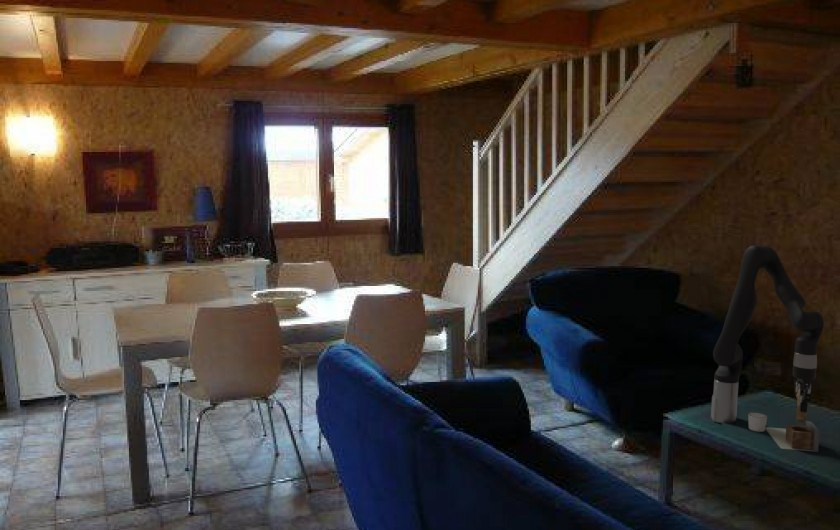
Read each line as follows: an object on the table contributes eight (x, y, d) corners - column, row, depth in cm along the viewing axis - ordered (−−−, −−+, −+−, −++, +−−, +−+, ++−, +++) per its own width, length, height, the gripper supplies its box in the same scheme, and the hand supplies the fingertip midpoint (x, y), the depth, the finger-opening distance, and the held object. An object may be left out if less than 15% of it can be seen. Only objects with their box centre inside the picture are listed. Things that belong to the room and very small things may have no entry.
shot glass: (765, 436, 269) (766, 419, 269) (745, 432, 273) (747, 415, 272) (766, 431, 275) (768, 414, 274) (748, 427, 279) (749, 411, 278)
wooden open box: (791, 447, 254) (793, 432, 253) (785, 439, 262) (786, 424, 261) (812, 449, 252) (813, 433, 252) (805, 441, 260) (806, 426, 259)
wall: (813, 451, 252) (815, 430, 251) (804, 441, 261) (806, 420, 260) (818, 451, 251) (819, 430, 250) (809, 441, 261) (810, 421, 260)
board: (780, 451, 254) (780, 448, 254) (763, 429, 276) (764, 427, 276) (817, 454, 251) (818, 451, 251) (797, 432, 274) (798, 429, 273)
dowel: (798, 422, 255) (800, 390, 253) (794, 419, 258) (796, 388, 256) (807, 422, 254) (809, 391, 253) (804, 419, 257) (806, 388, 256)
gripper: (822, 370, 246) (819, 417, 248) (809, 361, 260) (806, 405, 262) (799, 369, 247) (796, 415, 249) (788, 359, 261) (785, 403, 263)
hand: (801, 410), depth 256 cm, fingers closed on dowel, 3 cm apart
